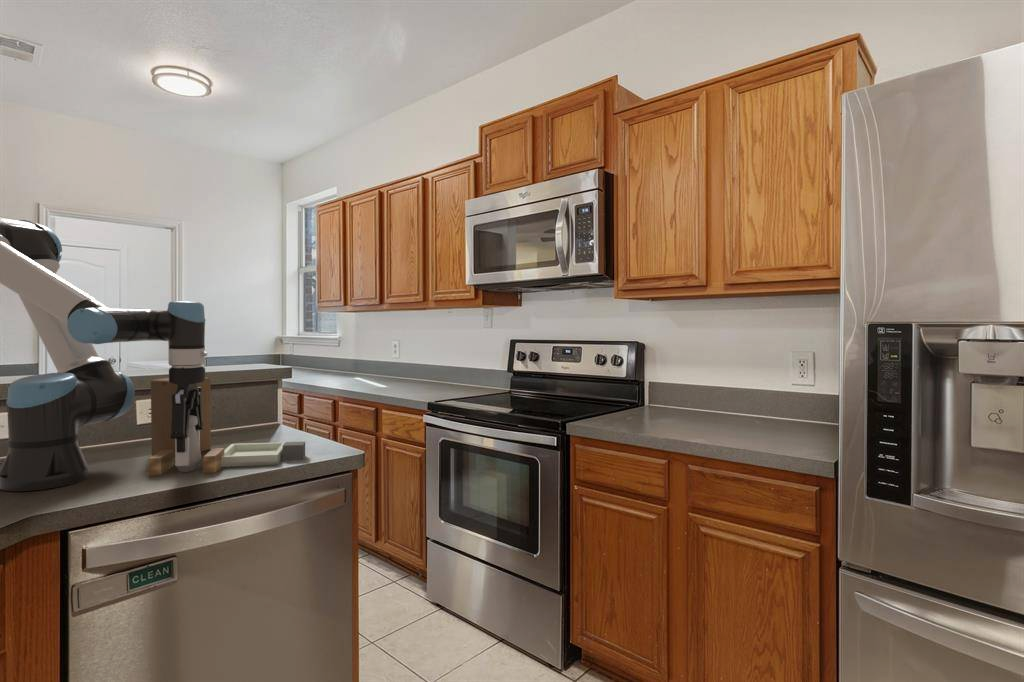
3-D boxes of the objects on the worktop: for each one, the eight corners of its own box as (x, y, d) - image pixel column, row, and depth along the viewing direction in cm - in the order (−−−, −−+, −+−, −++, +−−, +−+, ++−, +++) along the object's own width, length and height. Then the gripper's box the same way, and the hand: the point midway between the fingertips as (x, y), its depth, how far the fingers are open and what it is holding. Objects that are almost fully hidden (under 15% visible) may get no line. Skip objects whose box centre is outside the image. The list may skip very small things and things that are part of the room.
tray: (216, 467, 136) (216, 457, 135) (231, 453, 149) (231, 443, 149) (277, 464, 139) (277, 454, 139) (286, 451, 152) (286, 442, 152)
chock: (282, 460, 143) (282, 445, 143) (285, 457, 147) (285, 442, 147) (303, 460, 144) (303, 444, 144) (305, 456, 148) (305, 441, 148)
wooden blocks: (148, 475, 128) (148, 458, 127) (162, 466, 135) (161, 450, 135) (215, 472, 131) (215, 455, 131) (224, 463, 139) (224, 447, 139)
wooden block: (183, 458, 143) (182, 381, 142) (150, 455, 145) (149, 379, 144) (211, 449, 153) (211, 377, 152) (180, 446, 155) (179, 375, 154)
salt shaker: (204, 465, 137) (204, 413, 136) (199, 471, 131) (198, 417, 131) (177, 467, 135) (176, 414, 134) (171, 473, 130) (170, 418, 129)
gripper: (190, 370, 123) (191, 471, 124) (216, 362, 143) (217, 450, 144) (152, 370, 121) (154, 473, 122) (184, 362, 141) (185, 451, 142)
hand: (188, 460), depth 133 cm, fingers open, 7 cm apart
